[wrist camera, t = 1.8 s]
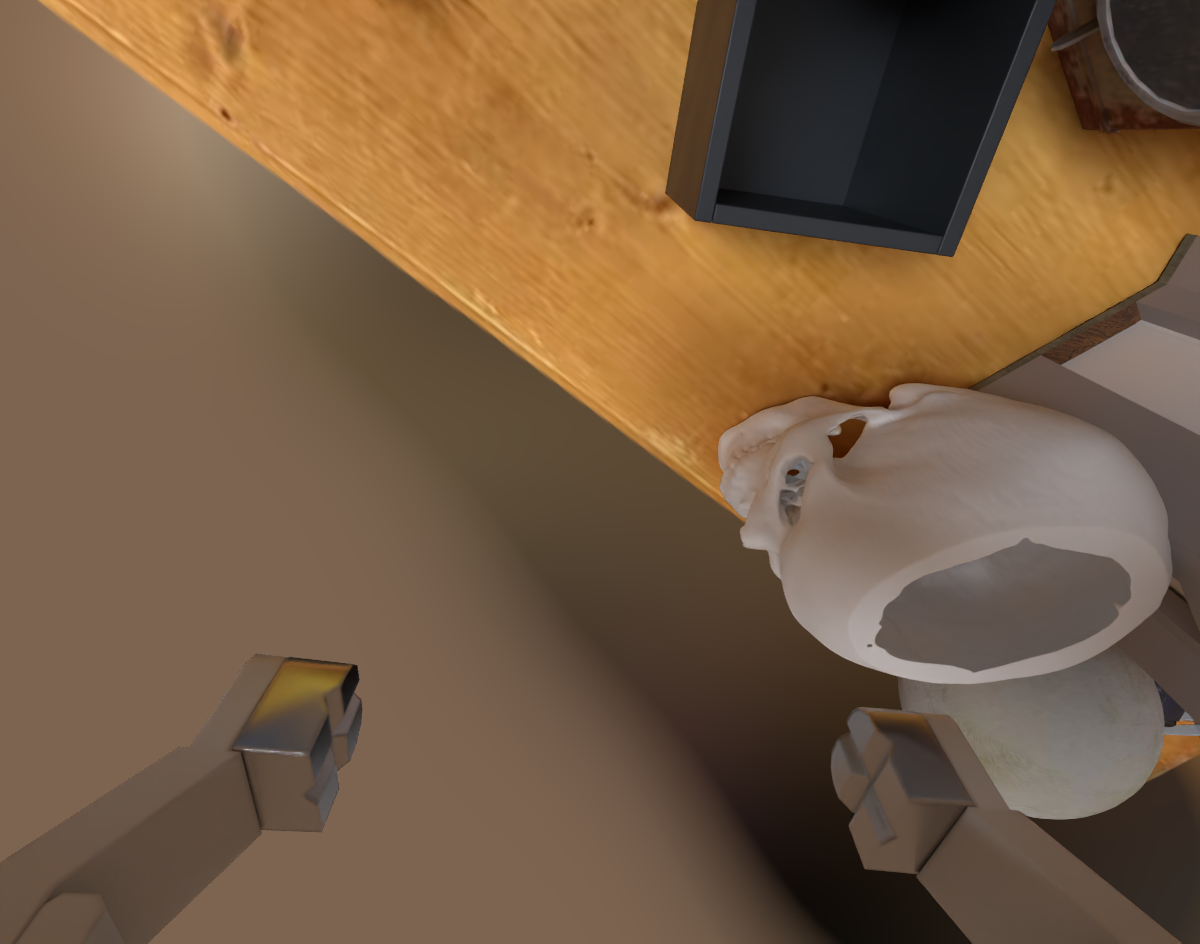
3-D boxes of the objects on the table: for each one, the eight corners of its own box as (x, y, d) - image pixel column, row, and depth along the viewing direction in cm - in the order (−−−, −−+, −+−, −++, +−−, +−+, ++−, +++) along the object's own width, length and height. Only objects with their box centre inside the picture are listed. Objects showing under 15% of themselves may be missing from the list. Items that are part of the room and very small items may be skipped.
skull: (673, 365, 37) (883, 554, 20) (933, 315, 40) (1312, 440, 23) (681, 536, 43) (845, 788, 26) (904, 482, 46) (1181, 676, 29)
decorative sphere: (1073, 845, 44) (931, 864, 38) (949, 661, 54) (824, 654, 49) (1286, 753, 35) (1144, 759, 29) (1088, 556, 46) (956, 532, 40)
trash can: (919, -14, 28) (1095, -95, 18) (847, 219, 34) (953, 257, 23) (705, -51, 28) (766, -155, 18) (664, 193, 33) (694, 220, 23)
